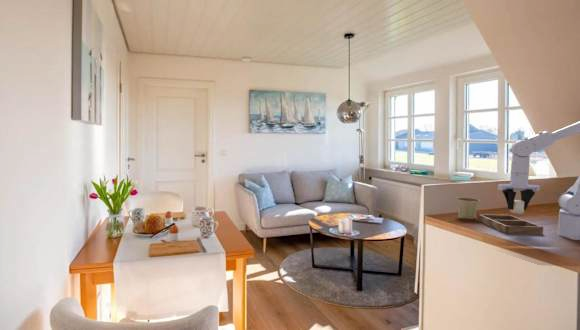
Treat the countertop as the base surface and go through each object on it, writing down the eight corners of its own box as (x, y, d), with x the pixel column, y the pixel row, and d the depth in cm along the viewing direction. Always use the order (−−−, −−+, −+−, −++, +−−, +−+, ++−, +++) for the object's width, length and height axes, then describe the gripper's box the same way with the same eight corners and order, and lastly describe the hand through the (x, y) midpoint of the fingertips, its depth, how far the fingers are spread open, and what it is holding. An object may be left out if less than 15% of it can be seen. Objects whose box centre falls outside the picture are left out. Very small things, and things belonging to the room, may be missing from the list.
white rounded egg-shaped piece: (526, 213, 141) (527, 202, 140) (514, 213, 141) (515, 201, 140) (519, 211, 145) (519, 199, 145) (507, 211, 145) (508, 199, 145)
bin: (542, 236, 138) (543, 227, 138) (505, 235, 138) (506, 226, 138) (509, 223, 159) (510, 215, 158) (477, 222, 158) (477, 214, 158)
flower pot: (482, 219, 165) (483, 199, 164) (473, 222, 159) (474, 201, 158) (460, 215, 172) (461, 196, 171) (451, 218, 165) (452, 198, 165)
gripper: (532, 172, 146) (529, 207, 147) (494, 171, 146) (492, 206, 147) (544, 174, 139) (541, 211, 140) (505, 173, 139) (502, 210, 140)
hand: (517, 209), depth 143 cm, fingers closed on white rounded egg-shaped piece, 4 cm apart
